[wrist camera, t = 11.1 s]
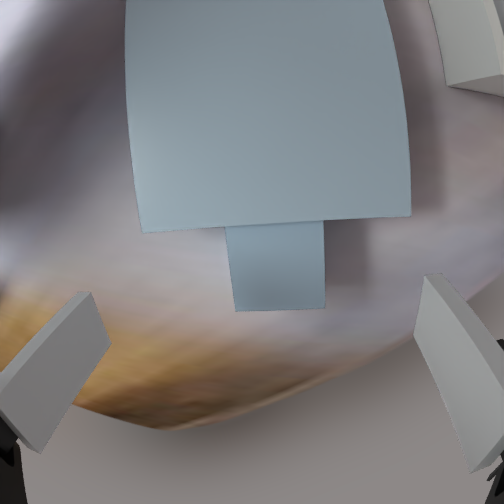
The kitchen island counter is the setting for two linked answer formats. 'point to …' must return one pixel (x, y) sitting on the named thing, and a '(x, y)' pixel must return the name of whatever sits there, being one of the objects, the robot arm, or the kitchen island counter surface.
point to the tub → (471, 43)
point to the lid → (265, 130)
